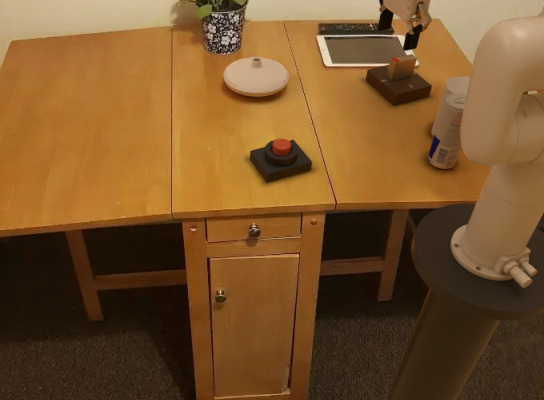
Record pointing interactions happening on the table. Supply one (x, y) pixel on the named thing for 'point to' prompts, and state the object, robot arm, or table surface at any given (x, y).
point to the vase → (256, 76)
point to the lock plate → (398, 86)
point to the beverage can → (448, 133)
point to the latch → (401, 67)
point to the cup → (451, 86)
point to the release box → (280, 162)
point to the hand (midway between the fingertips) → (396, 39)
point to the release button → (281, 147)
